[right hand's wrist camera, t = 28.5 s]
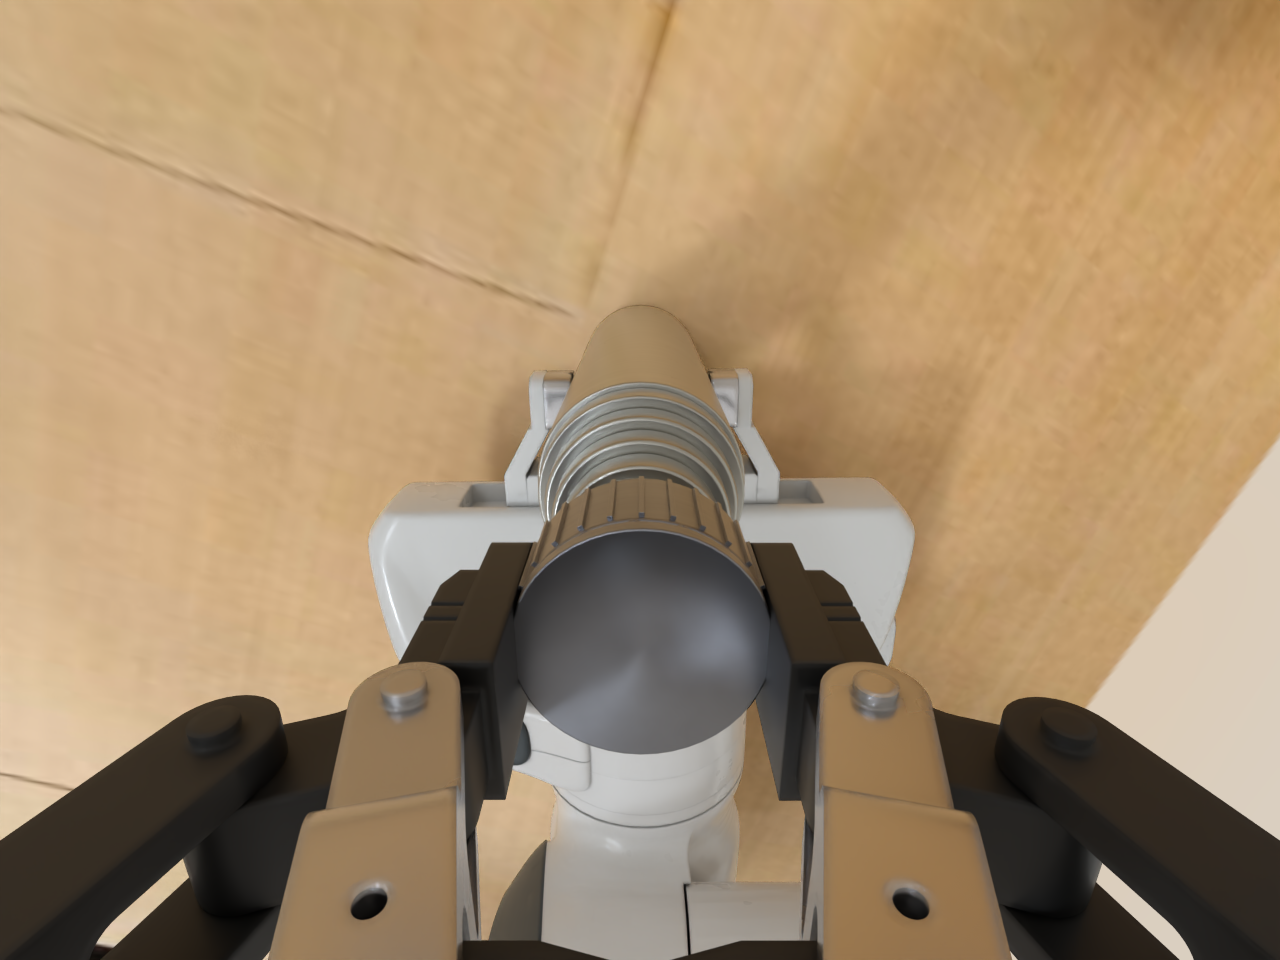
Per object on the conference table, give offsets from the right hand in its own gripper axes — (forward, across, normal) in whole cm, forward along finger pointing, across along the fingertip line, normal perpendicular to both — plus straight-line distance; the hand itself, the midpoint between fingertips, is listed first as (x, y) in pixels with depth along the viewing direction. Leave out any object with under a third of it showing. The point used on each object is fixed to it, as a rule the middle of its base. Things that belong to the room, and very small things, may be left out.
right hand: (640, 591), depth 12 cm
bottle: (+21, 0, 0) cm, 21 cm away
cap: (-2, 0, 0) cm, 2 cm away
